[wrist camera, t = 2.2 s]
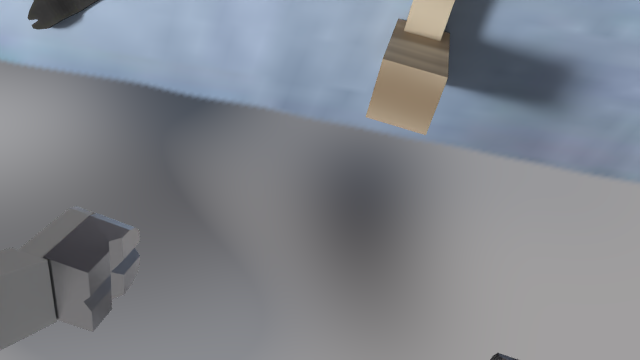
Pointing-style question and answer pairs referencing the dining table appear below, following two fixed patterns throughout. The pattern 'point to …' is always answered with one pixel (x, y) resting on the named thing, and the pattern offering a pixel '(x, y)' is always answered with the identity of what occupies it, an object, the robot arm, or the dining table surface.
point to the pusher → (414, 68)
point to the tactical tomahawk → (55, 11)
